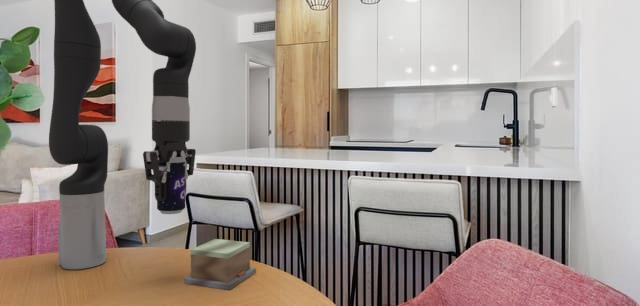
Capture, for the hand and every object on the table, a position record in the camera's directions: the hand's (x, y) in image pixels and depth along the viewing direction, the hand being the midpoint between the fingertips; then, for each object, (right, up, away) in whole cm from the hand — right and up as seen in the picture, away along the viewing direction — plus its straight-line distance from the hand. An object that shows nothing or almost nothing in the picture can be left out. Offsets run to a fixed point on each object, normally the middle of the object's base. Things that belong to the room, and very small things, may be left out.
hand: (171, 197), depth 87 cm
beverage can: (0, -3, 0) cm, 3 cm away
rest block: (+10, -18, +2) cm, 20 cm away
